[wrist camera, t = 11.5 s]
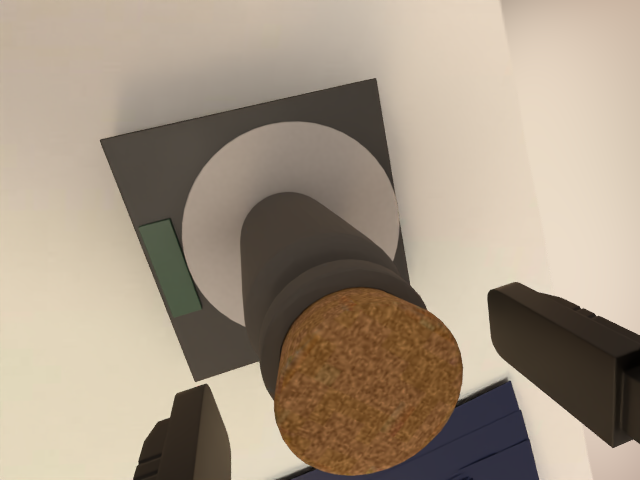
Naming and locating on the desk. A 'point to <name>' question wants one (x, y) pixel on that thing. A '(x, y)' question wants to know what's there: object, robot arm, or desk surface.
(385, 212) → the scale
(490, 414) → the papers
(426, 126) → the desk surface
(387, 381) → the bottle
